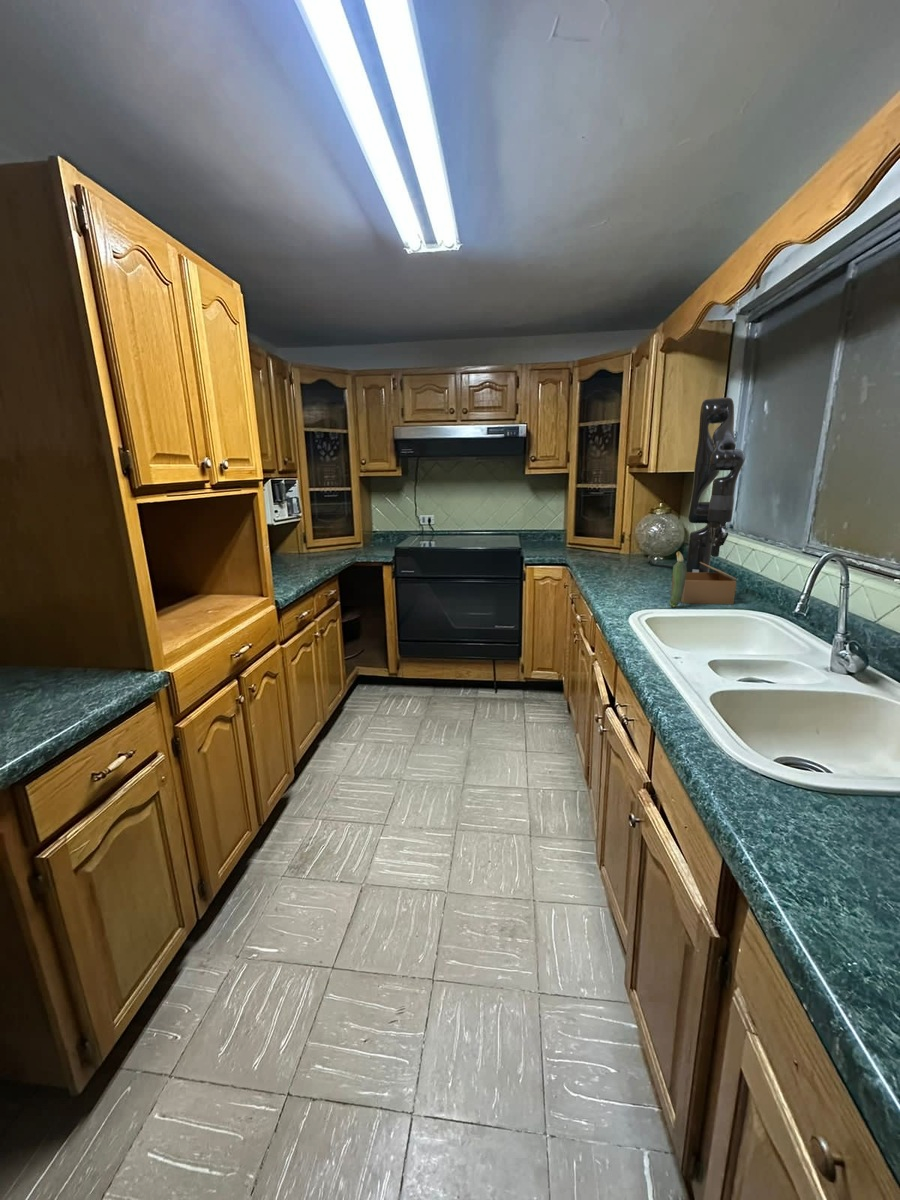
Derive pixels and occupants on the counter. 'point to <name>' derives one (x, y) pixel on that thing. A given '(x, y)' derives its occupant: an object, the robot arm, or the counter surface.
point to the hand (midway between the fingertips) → (714, 556)
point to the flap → (718, 570)
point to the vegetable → (678, 580)
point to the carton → (708, 588)
